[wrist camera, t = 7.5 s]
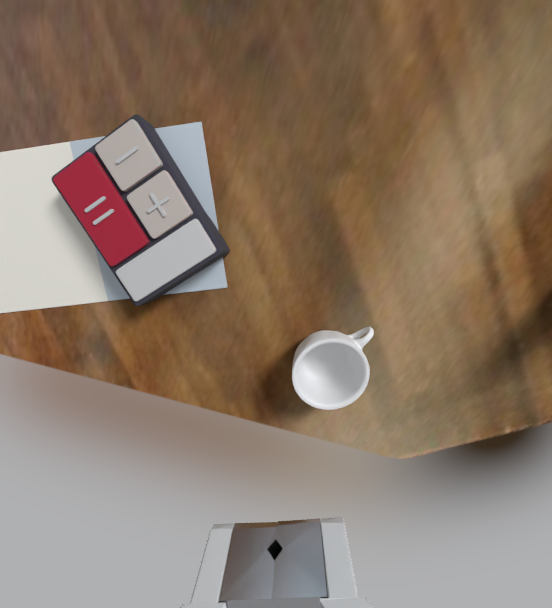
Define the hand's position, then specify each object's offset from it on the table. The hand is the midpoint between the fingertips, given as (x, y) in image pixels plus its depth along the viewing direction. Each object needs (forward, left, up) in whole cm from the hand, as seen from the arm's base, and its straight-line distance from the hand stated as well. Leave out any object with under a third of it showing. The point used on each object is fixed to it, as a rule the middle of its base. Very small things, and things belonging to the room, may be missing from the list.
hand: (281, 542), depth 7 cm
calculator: (-10, -14, -29) cm, 34 cm away
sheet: (-10, -21, -29) cm, 37 cm away
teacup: (+7, +4, -30) cm, 31 cm away
